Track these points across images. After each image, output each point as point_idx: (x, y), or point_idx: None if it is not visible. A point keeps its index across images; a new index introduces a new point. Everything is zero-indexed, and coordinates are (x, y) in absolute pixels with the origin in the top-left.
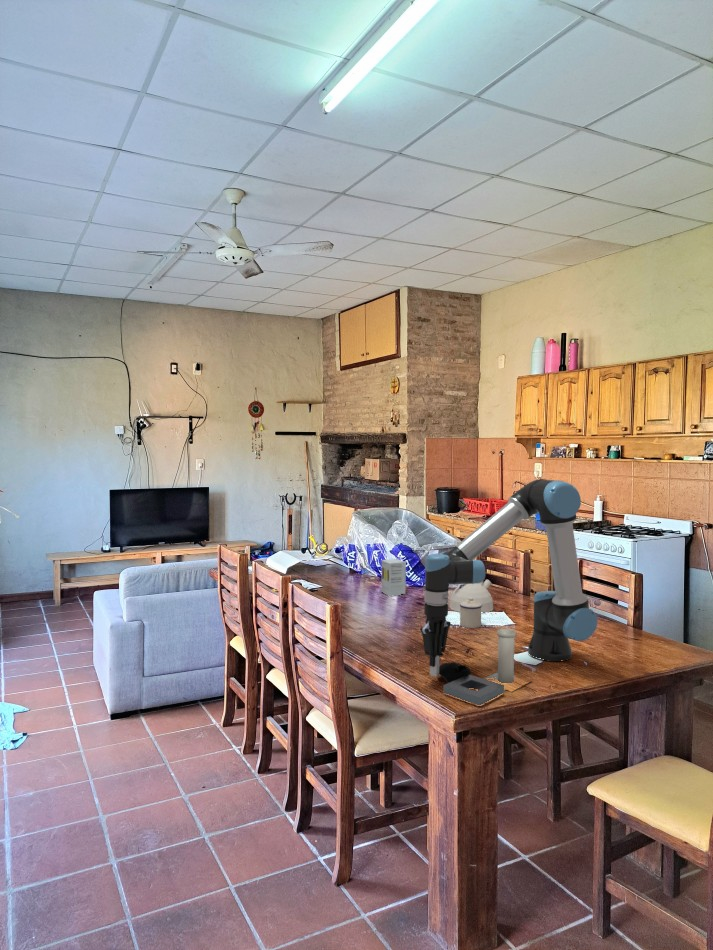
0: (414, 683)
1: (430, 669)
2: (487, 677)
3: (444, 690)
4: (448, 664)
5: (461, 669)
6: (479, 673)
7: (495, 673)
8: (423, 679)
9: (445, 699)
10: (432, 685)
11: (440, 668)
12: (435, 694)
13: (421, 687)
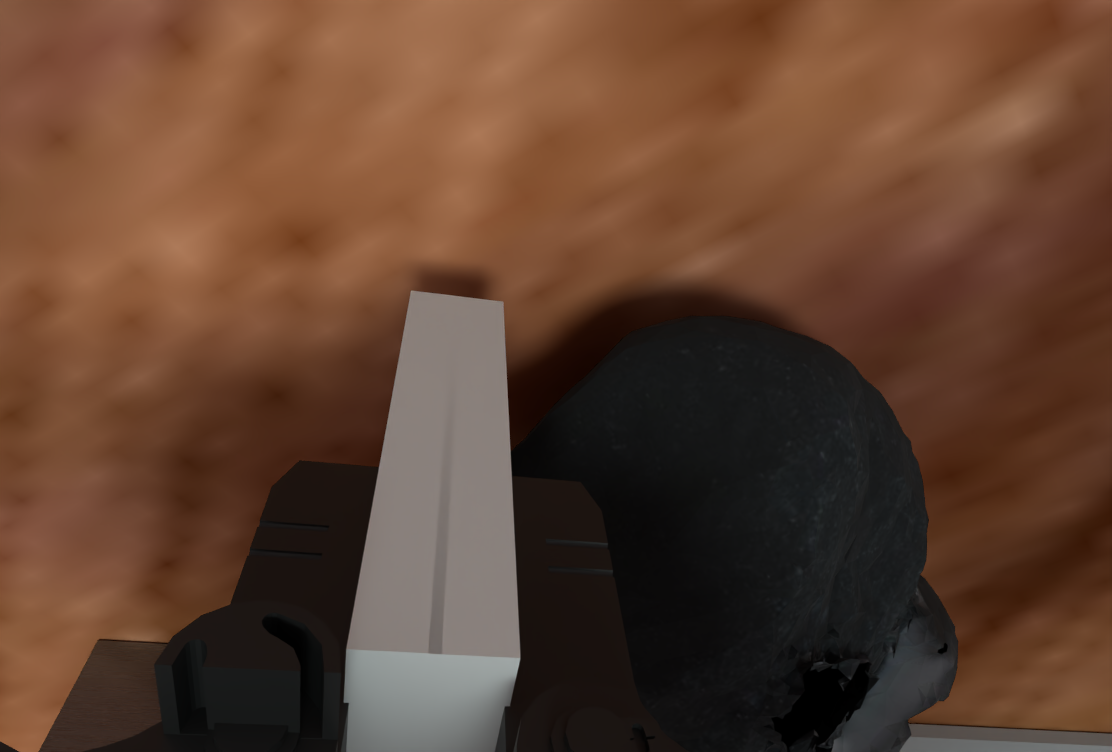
0: (55, 82)
1: (399, 366)
2: (924, 746)
3: (72, 706)
4: (667, 679)
5: (922, 595)
6: (1070, 620)
7: (1089, 749)
8: (380, 120)
9: (7, 705)
10: (258, 389)
11: (614, 476)
12: (13, 571)
13: (26, 297)
